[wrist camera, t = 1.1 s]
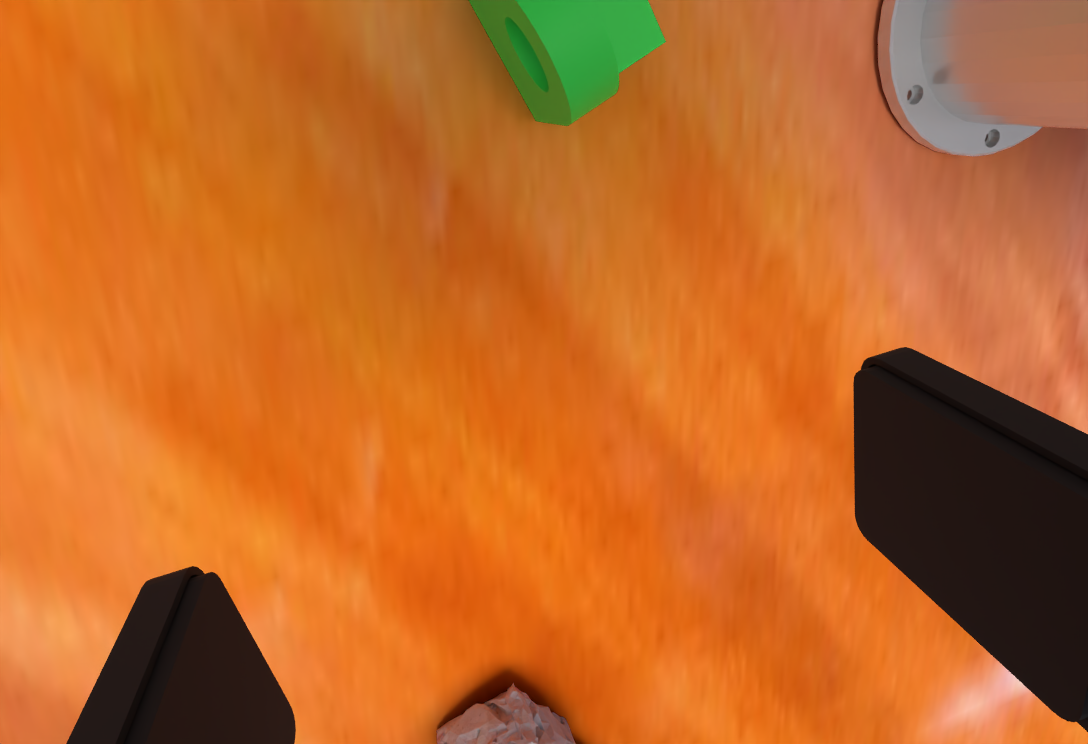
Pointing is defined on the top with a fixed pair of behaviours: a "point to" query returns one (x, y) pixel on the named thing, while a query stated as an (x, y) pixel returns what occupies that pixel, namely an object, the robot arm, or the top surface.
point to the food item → (506, 723)
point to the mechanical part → (568, 49)
